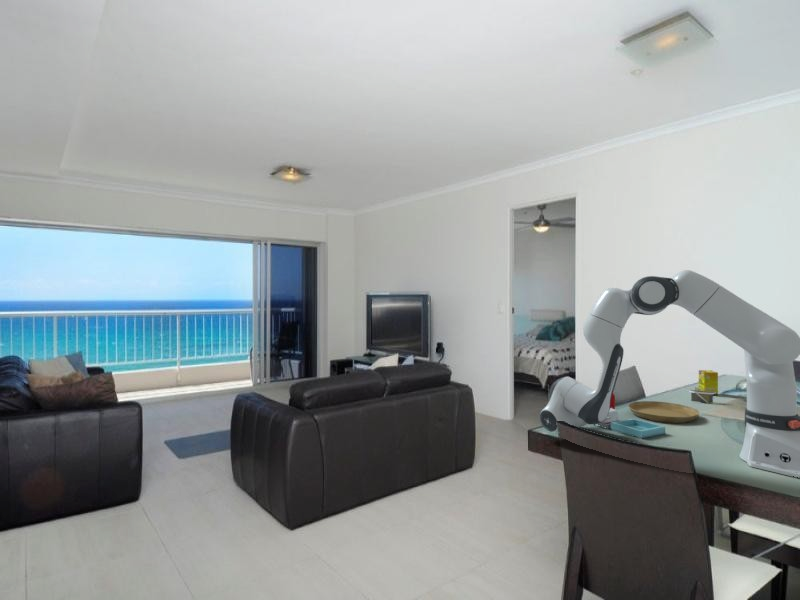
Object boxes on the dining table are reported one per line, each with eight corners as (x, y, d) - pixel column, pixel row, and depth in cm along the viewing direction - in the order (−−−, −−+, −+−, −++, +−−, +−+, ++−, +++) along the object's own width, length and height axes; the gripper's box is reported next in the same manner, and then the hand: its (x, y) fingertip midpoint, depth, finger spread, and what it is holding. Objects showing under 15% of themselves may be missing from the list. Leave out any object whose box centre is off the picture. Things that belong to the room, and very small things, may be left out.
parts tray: (665, 433, 159) (665, 426, 159) (641, 438, 153) (641, 431, 153) (633, 425, 169) (633, 418, 169) (610, 429, 164) (610, 422, 164)
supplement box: (698, 392, 225) (698, 369, 225) (711, 393, 224) (711, 370, 224) (704, 395, 219) (704, 371, 219) (718, 395, 218) (718, 372, 218)
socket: (624, 425, 169) (624, 421, 169) (607, 429, 165) (607, 424, 165) (603, 419, 177) (603, 415, 177) (586, 422, 173) (586, 418, 173)
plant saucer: (695, 428, 166) (695, 419, 166) (622, 418, 180) (621, 409, 180) (702, 414, 185) (702, 406, 185) (634, 406, 199) (634, 398, 199)
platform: (728, 408, 196) (728, 392, 196) (678, 403, 205) (678, 388, 205) (725, 402, 206) (725, 387, 206) (677, 398, 215) (677, 384, 215)
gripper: (605, 410, 151) (627, 403, 159) (550, 399, 168) (573, 394, 176) (605, 429, 151) (627, 422, 160) (551, 416, 168) (573, 411, 176)
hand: (598, 407), depth 168 cm, fingers open, 8 cm apart
